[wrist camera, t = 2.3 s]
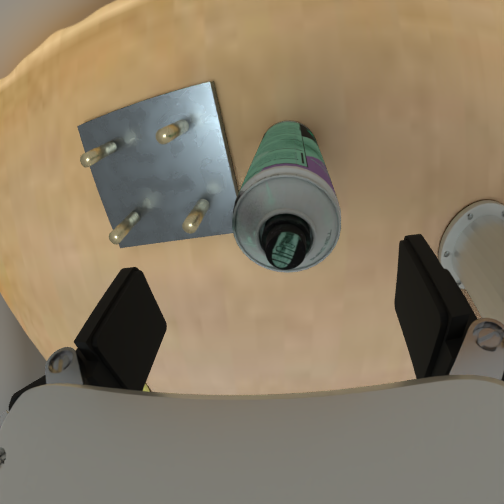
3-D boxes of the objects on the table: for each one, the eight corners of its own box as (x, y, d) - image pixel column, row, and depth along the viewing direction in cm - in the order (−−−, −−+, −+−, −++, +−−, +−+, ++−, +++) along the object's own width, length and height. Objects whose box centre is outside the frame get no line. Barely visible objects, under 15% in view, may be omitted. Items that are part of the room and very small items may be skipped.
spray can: (268, 177, 32) (238, 310, 15) (255, 126, 29) (202, 205, 12) (321, 168, 31) (354, 296, 14) (310, 115, 28) (343, 181, 11)
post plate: (213, 81, 27) (194, 83, 22) (246, 225, 35) (237, 256, 30) (84, 123, 30) (49, 137, 25) (125, 242, 38) (101, 270, 33)
